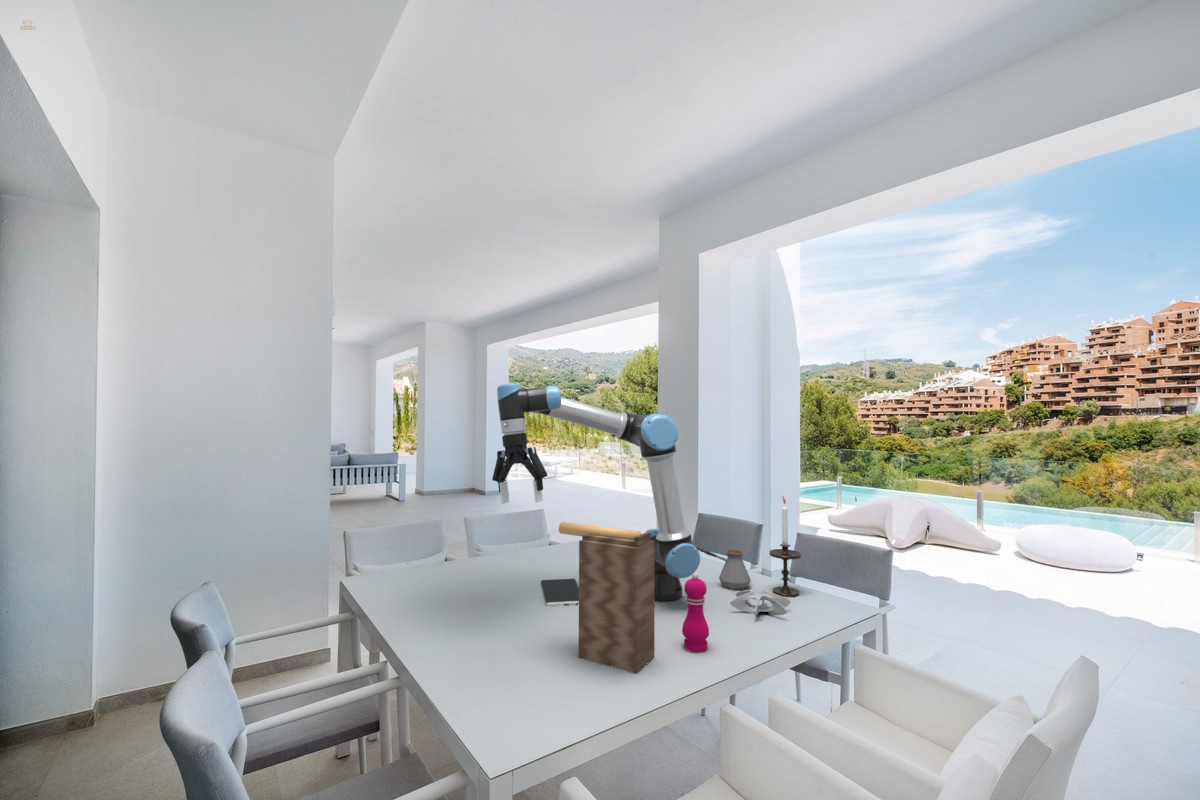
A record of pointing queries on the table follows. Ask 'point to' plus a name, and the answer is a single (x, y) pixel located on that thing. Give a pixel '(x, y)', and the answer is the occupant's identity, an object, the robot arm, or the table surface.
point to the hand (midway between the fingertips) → (522, 502)
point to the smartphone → (560, 591)
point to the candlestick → (785, 558)
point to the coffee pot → (732, 570)
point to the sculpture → (775, 600)
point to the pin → (596, 531)
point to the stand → (616, 601)
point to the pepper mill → (695, 616)
